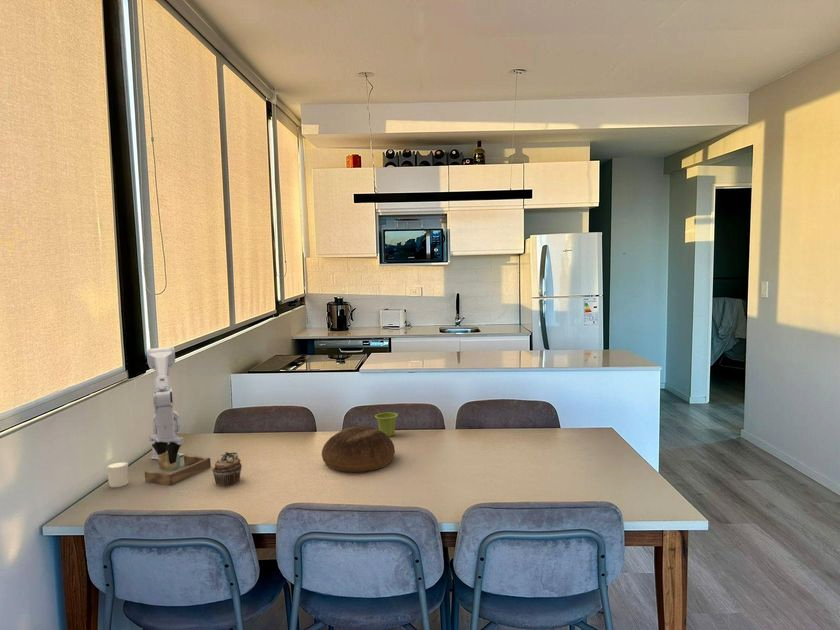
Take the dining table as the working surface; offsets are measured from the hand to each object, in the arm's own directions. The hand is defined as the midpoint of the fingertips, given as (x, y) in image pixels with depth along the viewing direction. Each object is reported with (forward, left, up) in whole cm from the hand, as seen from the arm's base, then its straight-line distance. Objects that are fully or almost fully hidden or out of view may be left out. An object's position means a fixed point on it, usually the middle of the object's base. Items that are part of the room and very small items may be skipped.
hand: (168, 462), depth 212 cm
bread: (+57, +36, -6) cm, 68 cm away
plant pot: (+52, +69, -6) cm, 87 cm away
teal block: (-7, +8, -6) cm, 12 cm away
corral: (+1, +4, -6) cm, 7 cm away
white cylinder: (-12, -11, -6) cm, 17 cm away
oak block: (0, 0, -2) cm, 2 cm away
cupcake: (+24, +3, -6) cm, 25 cm away
